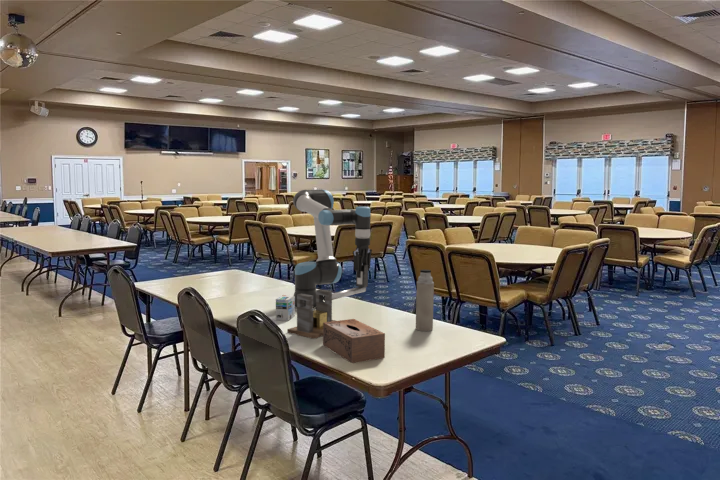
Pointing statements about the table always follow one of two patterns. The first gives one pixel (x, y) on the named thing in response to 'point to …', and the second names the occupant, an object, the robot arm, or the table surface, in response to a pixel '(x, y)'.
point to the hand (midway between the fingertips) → (362, 283)
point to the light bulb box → (285, 307)
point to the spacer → (319, 318)
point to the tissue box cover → (354, 340)
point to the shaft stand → (311, 313)
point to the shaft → (353, 291)
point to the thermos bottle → (424, 301)
